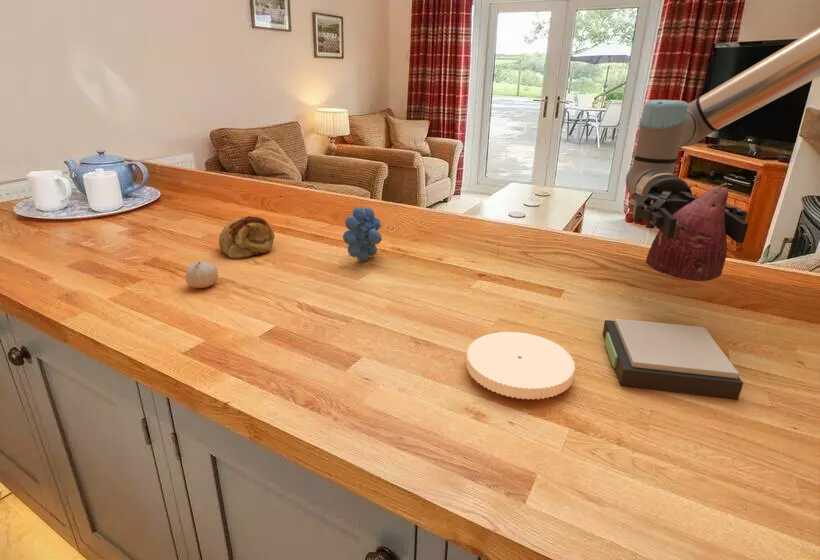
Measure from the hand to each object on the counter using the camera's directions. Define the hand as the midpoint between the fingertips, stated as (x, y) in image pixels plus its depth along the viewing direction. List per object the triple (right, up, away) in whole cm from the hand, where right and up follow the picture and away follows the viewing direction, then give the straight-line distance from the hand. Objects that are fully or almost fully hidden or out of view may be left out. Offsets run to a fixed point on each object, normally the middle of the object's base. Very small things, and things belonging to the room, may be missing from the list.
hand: (707, 231), depth 68 cm
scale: (-6, -19, +1) cm, 19 cm away
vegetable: (+1, -5, +8) cm, 9 cm away
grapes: (-50, -3, +36) cm, 62 cm away
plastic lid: (-27, -20, -2) cm, 33 cm away
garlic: (-79, -8, +23) cm, 83 cm away
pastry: (-77, 0, +42) cm, 88 cm away
